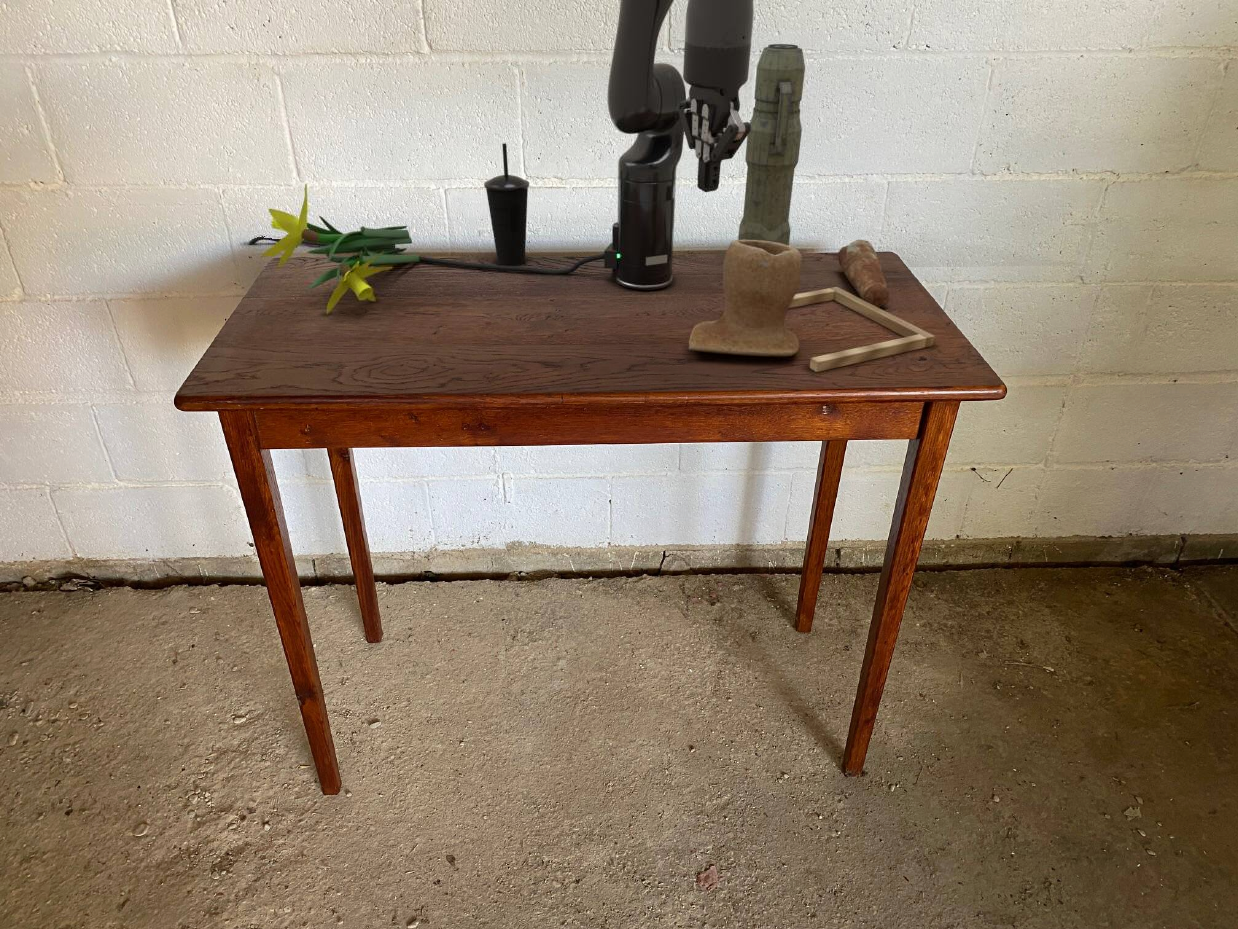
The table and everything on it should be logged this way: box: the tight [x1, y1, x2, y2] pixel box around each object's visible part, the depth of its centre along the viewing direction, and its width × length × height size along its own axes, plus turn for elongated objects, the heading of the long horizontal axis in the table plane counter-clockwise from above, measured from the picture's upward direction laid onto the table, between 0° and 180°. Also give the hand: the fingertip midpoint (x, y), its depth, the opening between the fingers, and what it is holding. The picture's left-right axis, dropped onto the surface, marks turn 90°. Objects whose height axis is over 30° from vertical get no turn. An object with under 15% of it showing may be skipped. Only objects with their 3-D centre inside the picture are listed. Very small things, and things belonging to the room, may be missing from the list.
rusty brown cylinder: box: [837, 239, 890, 308], centre depth 137 cm, size 6×19×6 cm, turn 175°
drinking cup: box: [483, 142, 530, 266], centre depth 144 cm, size 8×8×20 cm
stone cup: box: [688, 239, 803, 357], centre depth 115 cm, size 15×12×15 cm
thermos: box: [737, 43, 806, 246], centre depth 140 cm, size 9×12×35 cm
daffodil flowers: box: [260, 183, 422, 315], centre depth 132 cm, size 17×15×35 cm
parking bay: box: [788, 286, 935, 373], centre depth 124 cm, size 20×22×2 cm
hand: (707, 189), depth 105 cm, fingers closed
